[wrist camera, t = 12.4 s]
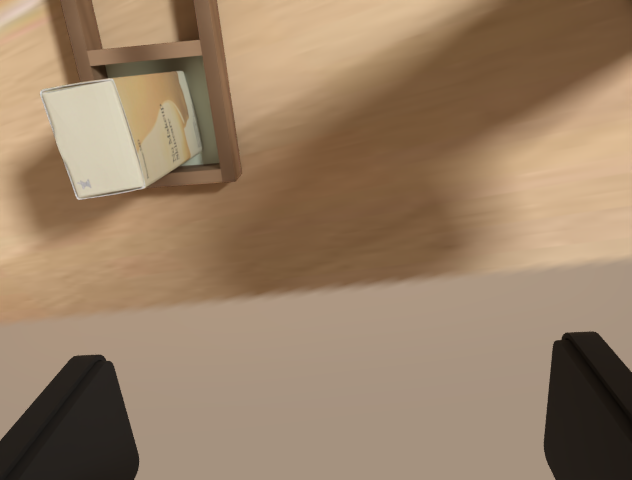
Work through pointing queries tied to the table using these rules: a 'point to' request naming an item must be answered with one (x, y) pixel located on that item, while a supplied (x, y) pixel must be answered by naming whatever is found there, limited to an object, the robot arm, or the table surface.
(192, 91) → the divided wooden tray
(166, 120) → the skincare box
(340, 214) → the table surface
